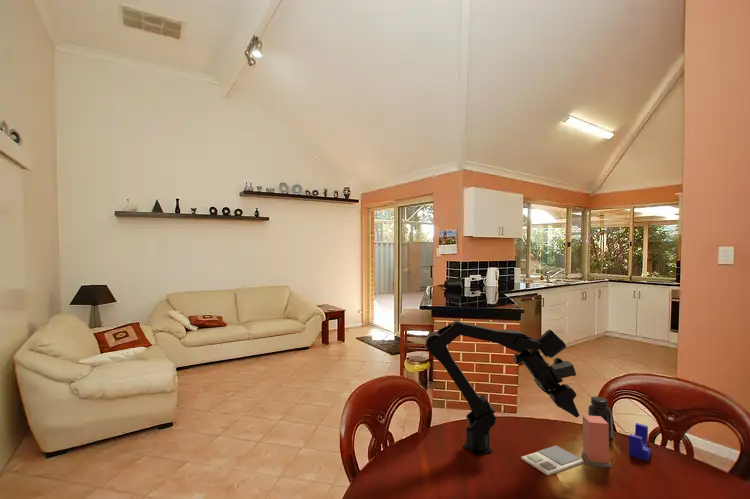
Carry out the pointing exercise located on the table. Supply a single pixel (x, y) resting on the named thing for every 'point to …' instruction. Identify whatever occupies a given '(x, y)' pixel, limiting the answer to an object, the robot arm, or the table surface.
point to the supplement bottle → (601, 411)
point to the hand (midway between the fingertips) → (571, 409)
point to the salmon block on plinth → (596, 441)
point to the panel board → (552, 460)
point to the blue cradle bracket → (639, 442)
